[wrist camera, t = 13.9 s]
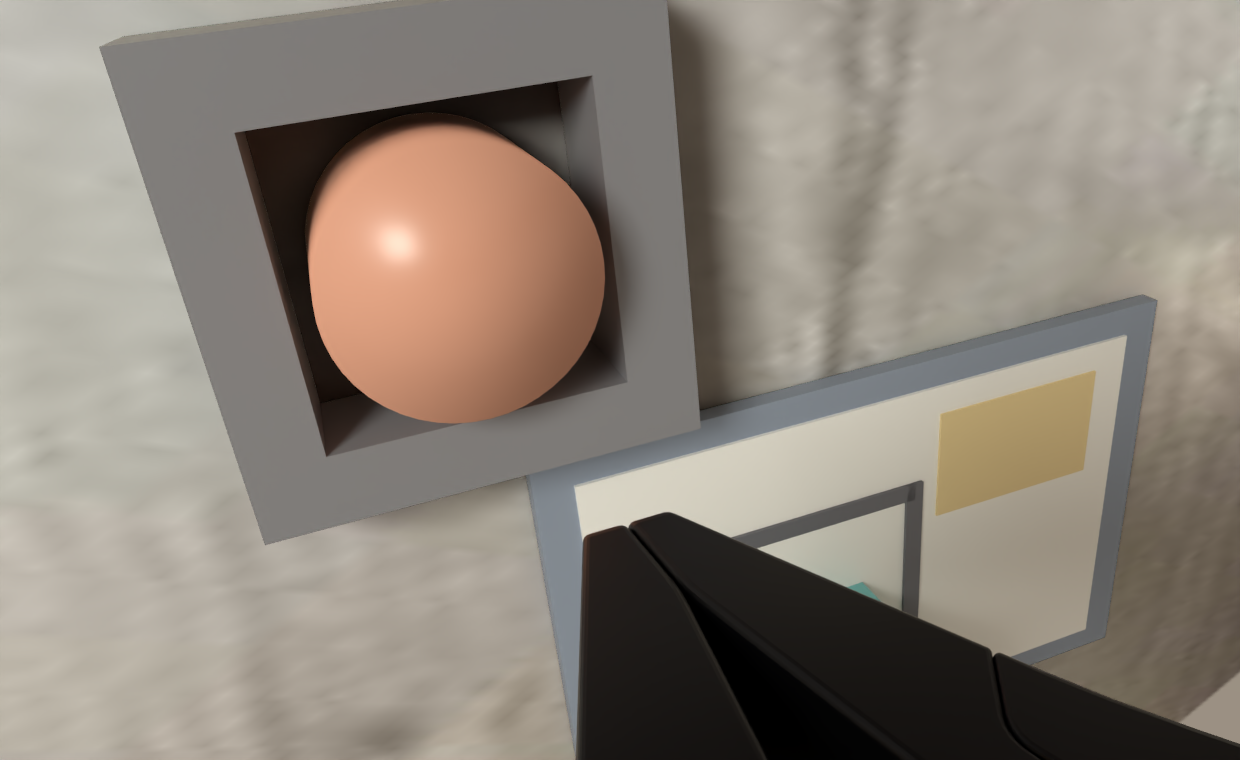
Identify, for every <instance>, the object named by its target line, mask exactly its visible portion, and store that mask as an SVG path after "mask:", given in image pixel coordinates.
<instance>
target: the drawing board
mask: <svg viewBox="0 0 1240 760" xmlns="http://www.w3.org/2000/svg"><path fill="white" fill-rule="evenodd" d="M1156 305H1157V300H1155V299H1153V298H1150V297H1147V296H1145V295H1140V296H1136V297H1132V298H1128V299H1124V300H1121V301H1117V302H1113V303H1109V304H1105V305H1101V306H1098V307H1094V308H1090V309H1086V310H1082V311H1079V312H1075V313H1071V314H1067V315H1063V316H1059V317H1056V318H1052V319H1048V320H1044V321H1040V322H1037V323H1033V324H1029V325H1025V326H1021V327H1018V328H1014V329H1010V330H1006V331H1002V332H998V333H995V334H991V335H987V336H983V337H979V338H976V339H972V340H968V341H964V342H960V343H956V344H953V345H949V346H945V347H941V348H937V349H934V350H930V351H926V352H922V353H918V354H915V355H911V356H907V357H903V358H899V359H895V360H892V361H888V362H884V363H880V364H876V365H873V366H869V367H865V368H861V369H857V370H853V371H850V372H846V373H842V374H838V375H834V376H831V377H827V378H823V379H819V380H815V381H812V382H808V383H804V384H800V385H796V386H792V387H789V388H785V389H781V390H777V391H773V392H770V393H766V394H762V395H758V396H754V397H750V398H747V399H743V400H739V401H735V402H731V403H728V404H724V405H720V406H716V407H712V408H709V409H705V410H701V411H699V412H700V424H701V429H698V430H694V431H690V432H686V433H683V434H679V435H675V436H671V437H668V438H664V439H660V440H656V441H653V442H649V443H645V444H641V445H638V446H634V447H630V448H626V449H623V450H619V451H615V452H612V453H608V454H604V455H600V456H597V457H593V458H589V459H585V460H582V461H578V462H574V463H570V464H567V465H563V466H559V467H555V468H552V469H548V470H544V471H540V472H537V473H533V474H529V475H526V479H527V485H528V491H529V496H530V502H531V508H532V513H533V519H534V525H535V530H536V536H537V542H538V547H539V553H540V558H541V564H542V570H543V575H544V581H545V587H546V592H547V598H548V604H549V609H550V615H551V621H552V626H553V632H554V637H555V643H556V649H557V654H558V660H559V666H560V671H561V677H562V683H563V688H564V694H565V700H566V705H567V711H568V716H569V722H570V728H571V733H572V739H573V745H574V750H575V756H576V735H577V704H578V672H579V641H580V610H581V579H582V548H583V539H584V537H585V536H586V535H588V534H591V533H594V532H598V531H601V530H605V529H608V528H612V527H615V526H619V525H623V526H626V527H627V528H628V527H629V525H630V523H631V522H633V521H636V520H639V519H643V518H646V517H650V516H653V515H656V514H660V513H663V512H671V513H674V514H677V515H679V516H682V517H684V518H686V519H689V520H691V521H693V522H696V523H698V524H700V525H703V526H705V527H707V528H710V529H712V530H714V531H717V532H719V533H721V534H724V535H726V536H728V537H731V538H733V539H735V540H738V541H740V542H742V543H745V544H747V545H749V546H752V547H754V548H757V549H759V550H761V551H764V552H766V553H768V554H771V555H773V556H775V557H778V558H780V559H782V560H785V561H787V562H789V563H792V564H794V565H796V566H799V567H801V568H803V569H806V570H808V571H810V572H813V573H815V574H817V575H820V576H822V577H824V578H827V579H829V580H831V581H834V582H836V583H838V584H841V585H843V586H845V587H849V586H852V585H855V584H858V583H861V582H863V583H864V584H865V585H866V586H867V587H868V588H869V589H870V590H871V591H872V593H873V594H874V595H875V596H876V597H877V598H878V599H879V600H880V601H881V602H883V603H885V604H887V605H890V606H892V607H894V608H897V609H899V610H901V611H904V612H906V613H908V614H911V615H913V616H915V617H918V618H920V619H922V620H925V621H927V622H929V623H932V624H934V625H936V626H939V627H941V628H943V629H946V630H948V631H950V632H953V633H955V634H957V635H960V636H962V637H964V638H967V639H969V640H971V641H974V642H976V643H979V644H981V645H983V646H986V647H988V648H989V649H990V650H991V651H992V655H993V656H994V655H995V654H996V653H1003V654H1005V655H1007V656H1010V657H1012V658H1014V659H1017V660H1019V661H1021V662H1024V663H1026V664H1028V665H1032V664H1034V663H1037V662H1040V661H1042V660H1045V659H1048V658H1050V657H1053V656H1056V655H1059V654H1061V653H1064V652H1067V651H1069V650H1072V649H1075V648H1077V647H1080V646H1083V645H1085V644H1088V643H1091V642H1093V641H1096V640H1099V639H1102V638H1104V637H1105V635H1106V628H1107V622H1108V615H1109V609H1110V603H1111V596H1112V590H1113V583H1114V577H1115V570H1116V564H1117V557H1118V551H1119V544H1120V538H1121V531H1122V525H1123V518H1124V512H1125V505H1126V499H1127V493H1128V486H1129V480H1130V473H1131V467H1132V460H1133V454H1134V447H1135V441H1136V434H1137V428H1138V421H1139V415H1140V408H1141V402H1142V395H1143V389H1144V382H1145V376H1146V370H1147V363H1148V357H1149V350H1150V344H1151V337H1152V331H1153V324H1154V318H1155V311H1156Z"/></svg>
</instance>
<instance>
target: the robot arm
mask: <svg viewBox="0 0 1240 760" xmlns="http://www.w3.org/2000/svg"><path fill="white" fill-rule="evenodd" d="M576 760H1240V744H1238V743H1235V742H1232V741H1229V740H1226V739H1223V738H1221V737H1218V736H1215V735H1212V734H1209V733H1206V732H1203V731H1200V730H1197V729H1195V728H1192V727H1189V726H1186V725H1183V724H1181V723H1178V722H1175V721H1172V720H1170V719H1167V718H1164V717H1161V716H1159V715H1156V714H1153V713H1150V712H1147V711H1145V710H1142V709H1139V708H1136V707H1134V706H1131V705H1128V704H1125V703H1123V702H1120V701H1117V700H1114V699H1112V698H1109V697H1107V696H1104V695H1102V694H1099V693H1097V692H1094V691H1092V690H1089V689H1087V688H1084V687H1082V686H1080V685H1077V684H1075V683H1072V682H1070V681H1067V680H1065V679H1062V678H1060V677H1057V676H1055V675H1052V674H1050V673H1047V672H1045V671H1042V670H1040V669H1038V668H1035V667H1033V666H1031V665H1028V664H1026V663H1024V662H1021V661H1019V660H1017V659H1014V658H1012V657H1010V656H1007V655H1005V654H1003V653H996V654H995V655H994V656H993V655H992V651H991V650H990V649H989V648H988V647H986V646H983V645H981V644H979V643H976V642H974V641H971V640H969V639H967V638H964V637H962V636H960V635H957V634H955V633H953V632H950V631H948V630H946V629H943V628H941V627H939V626H936V625H934V624H932V623H929V622H927V621H925V620H922V619H920V618H918V617H915V616H913V615H911V614H908V613H906V612H904V611H901V610H899V609H897V608H894V607H892V606H890V605H887V604H885V603H883V602H880V601H878V600H876V599H873V598H871V597H869V596H866V595H864V594H862V593H859V592H857V591H855V590H852V589H850V588H848V587H845V586H843V585H841V584H838V583H836V582H834V581H831V580H829V579H827V578H824V577H822V576H820V575H817V574H815V573H813V572H810V571H808V570H806V569H803V568H801V567H799V566H796V565H794V564H792V563H789V562H787V561H785V560H782V559H780V558H778V557H775V556H773V555H771V554H768V553H766V552H764V551H761V550H759V549H757V548H754V547H752V546H749V545H747V544H745V543H742V542H740V541H738V540H735V539H733V538H731V537H728V536H726V535H724V534H721V533H719V532H717V531H714V530H712V529H710V528H707V527H705V526H703V525H700V524H698V523H696V522H693V521H691V520H689V519H686V518H684V517H682V516H679V515H677V514H674V513H671V512H663V513H660V514H656V515H653V516H650V517H646V518H643V519H639V520H636V521H633V522H631V523H630V525H629V527H628V528H627V527H626V526H623V525H619V526H615V527H612V528H608V529H605V530H601V531H598V532H594V533H591V534H588V535H586V536H585V537H584V539H583V548H582V579H581V610H580V641H579V672H578V704H577V735H576Z"/></svg>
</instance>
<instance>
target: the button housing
mask: <svg viewBox="0 0 1240 760" xmlns="http://www.w3.org/2000/svg"><path fill="white" fill-rule="evenodd" d="M99 48H100V51H101V54H102V57H103V60H104V63H105V66H106V69H107V72H108V75H109V78H110V81H111V84H112V87H113V90H114V93H115V96H116V99H117V102H118V105H119V108H120V111H121V114H122V117H123V120H124V123H125V126H126V129H127V132H128V135H129V138H130V141H131V144H132V147H133V150H134V153H135V156H136V159H137V162H138V165H139V168H140V171H141V174H142V177H143V180H144V183H145V186H146V189H147V192H148V195H149V198H150V201H151V204H152V207H153V210H154V213H155V216H156V219H157V222H158V225H159V228H160V231H161V234H162V237H163V240H164V243H165V246H166V249H167V252H168V255H169V258H170V261H171V264H172V267H173V270H174V273H175V276H176V279H177V282H178V285H179V288H180V291H181V294H182V297H183V300H184V303H185V306H186V309H187V312H188V315H189V318H190V321H191V324H192V327H193V330H194V333H195V336H196V339H197V342H198V345H199V348H200V351H201V354H202V357H203V360H204V363H205V366H206V369H207V372H208V375H209V378H210V381H211V384H212V387H213V390H214V393H215V396H216V399H217V402H218V405H219V408H220V411H221V414H222V417H223V420H224V423H225V426H226V429H227V432H228V435H229V438H230V441H231V444H232V447H233V450H234V453H235V456H236V459H237V462H238V465H239V468H240V471H241V474H242V477H243V480H244V483H245V486H246V489H247V492H248V495H249V498H250V501H251V504H252V507H253V510H254V513H255V516H256V519H257V522H258V525H259V528H260V531H261V534H262V537H263V540H264V543H265V545H267V544H271V543H275V542H279V541H282V540H286V539H290V538H294V537H297V536H301V535H305V534H309V533H312V532H316V531H320V530H324V529H327V528H331V527H335V526H339V525H342V524H346V523H350V522H353V521H357V520H361V519H365V518H368V517H372V516H376V515H380V514H383V513H387V512H391V511H395V510H398V509H402V508H406V507H410V506H413V505H417V504H421V503H425V502H428V501H432V500H436V499H439V498H443V497H447V496H451V495H454V494H458V493H462V492H466V491H469V490H473V489H477V488H481V487H484V486H488V485H492V484H496V483H499V482H503V481H507V480H511V479H514V478H518V477H522V476H525V475H529V474H533V473H537V472H540V471H544V470H548V469H552V468H555V467H559V466H563V465H567V464H570V463H574V462H578V461H582V460H585V459H589V458H593V457H597V456H600V455H604V454H608V453H612V452H615V451H619V450H623V449H626V448H630V447H634V446H638V445H641V444H645V443H649V442H653V441H656V440H660V439H664V438H668V437H671V436H675V435H679V434H683V433H686V432H690V431H694V430H698V429H701V424H700V412H699V399H698V386H697V374H696V361H695V349H694V336H693V323H692V311H691V298H690V285H689V273H688V260H687V247H686V235H685V222H684V209H683V197H682V184H681V171H680V159H679V146H678V133H677V121H676V108H675V96H674V83H673V70H672V58H671V45H670V32H669V20H668V7H667V0H398V1H391V2H383V3H375V4H368V5H360V6H353V7H345V8H337V9H330V10H322V11H314V12H307V13H299V14H292V15H284V16H276V17H269V18H261V19H253V20H246V21H238V22H231V23H223V24H215V25H208V26H200V27H192V28H185V29H177V30H170V31H162V32H154V33H147V34H139V35H131V36H124V37H121V38H119V39H116V40H114V41H112V42H109V43H107V44H105V45H103V46H100V47H99ZM555 81H557V83H558V91H559V99H560V106H561V114H562V121H563V129H564V137H565V144H566V152H567V159H568V167H569V175H570V182H571V189H572V190H573V191H574V192H575V194H576V195H577V196H578V197H579V199H580V200H581V202H582V203H583V205H584V206H585V208H586V209H587V211H588V213H589V215H590V217H591V219H592V221H593V223H594V225H595V228H596V231H597V234H598V237H599V240H600V243H601V247H602V253H603V258H604V268H605V286H604V297H603V302H602V307H601V312H600V315H599V318H598V321H597V324H596V327H595V330H594V332H593V334H592V336H591V340H589V343H588V345H587V346H586V348H585V350H584V351H583V353H582V354H581V356H580V357H579V359H578V360H577V362H576V363H575V364H574V365H573V367H572V368H571V369H570V370H569V371H568V373H567V374H566V375H565V376H564V377H563V378H562V379H561V380H560V381H559V382H558V383H557V384H555V385H554V386H553V387H552V388H551V389H549V390H548V391H547V392H545V393H544V394H543V395H541V396H540V397H539V398H537V399H535V400H534V401H532V402H530V403H529V404H527V405H525V406H523V407H521V408H519V409H517V410H514V411H512V412H510V413H508V414H504V415H501V416H498V417H495V418H492V419H487V420H482V421H477V422H469V423H455V424H454V423H436V422H430V421H424V420H418V419H415V418H412V417H409V416H405V415H402V414H399V413H397V412H395V411H393V410H390V409H388V408H386V407H384V406H382V405H381V404H379V403H377V402H376V401H374V400H372V399H371V398H369V397H368V396H367V395H365V394H364V393H362V394H358V395H354V396H349V397H345V398H341V399H337V400H332V401H328V402H324V403H320V400H319V396H318V393H317V389H316V386H315V382H314V378H313V375H312V371H311V368H310V364H309V360H308V357H307V353H306V350H305V346H304V343H303V339H302V335H301V332H300V328H299V325H298V321H297V317H296V314H295V310H294V307H293V303H292V300H291V296H290V292H289V289H288V285H287V282H286V278H285V274H284V271H283V267H282V264H281V260H280V256H279V253H278V249H277V246H276V242H275V239H274V235H273V231H272V228H271V224H270V221H269V217H268V213H267V210H266V206H265V203H264V199H263V196H262V192H261V188H260V185H259V181H258V178H257V174H256V170H255V167H254V163H253V160H252V156H251V152H250V149H249V145H248V142H247V138H246V135H245V131H248V130H254V129H260V128H267V127H273V126H279V125H285V124H292V123H298V122H304V121H311V120H317V119H323V118H329V117H336V116H342V115H348V114H354V113H361V112H367V111H373V110H379V109H386V108H392V107H398V106H405V105H411V104H417V103H423V102H430V101H436V100H442V99H448V98H455V97H461V96H467V95H474V94H480V93H486V92H492V91H499V90H505V89H511V88H517V87H524V86H530V85H536V84H542V83H549V82H555Z"/></svg>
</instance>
